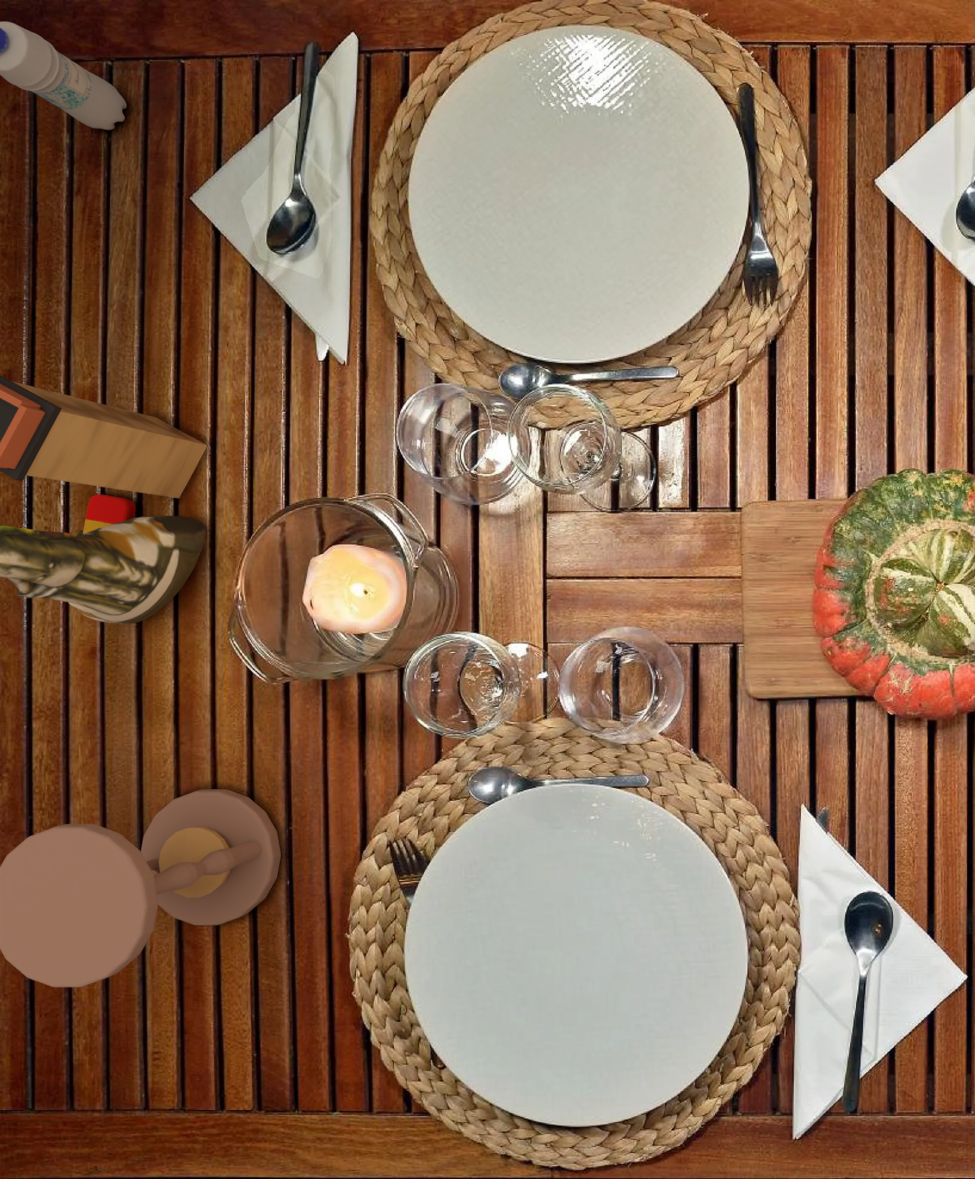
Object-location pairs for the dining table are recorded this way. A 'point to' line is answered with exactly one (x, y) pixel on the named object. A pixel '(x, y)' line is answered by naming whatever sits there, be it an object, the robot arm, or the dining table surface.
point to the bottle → (57, 78)
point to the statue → (105, 565)
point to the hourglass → (131, 885)
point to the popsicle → (107, 511)
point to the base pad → (22, 427)
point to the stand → (114, 448)
